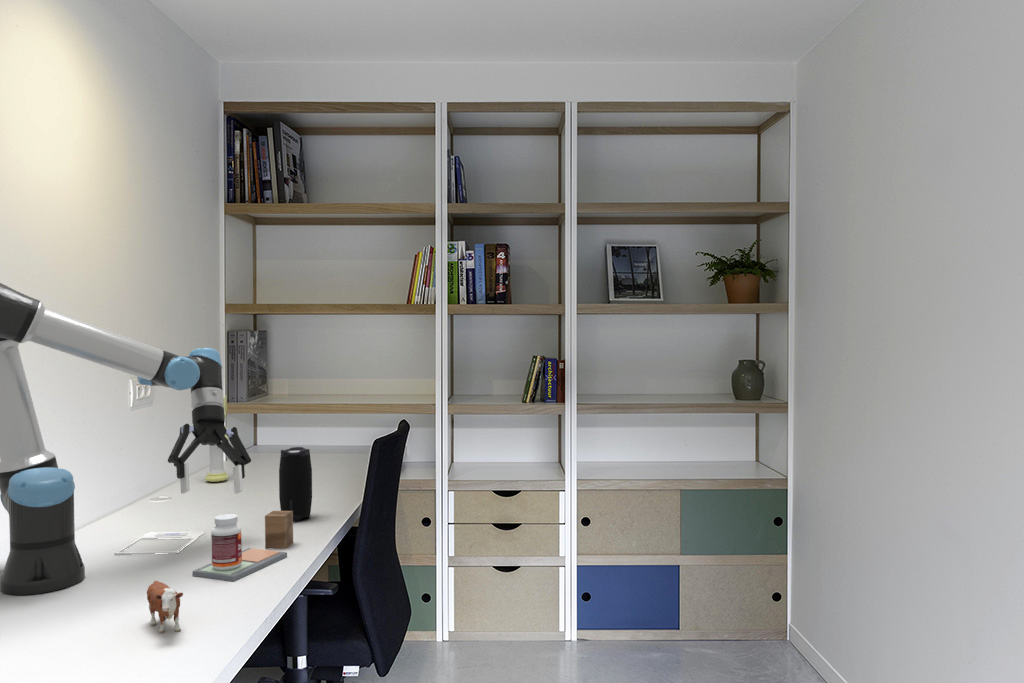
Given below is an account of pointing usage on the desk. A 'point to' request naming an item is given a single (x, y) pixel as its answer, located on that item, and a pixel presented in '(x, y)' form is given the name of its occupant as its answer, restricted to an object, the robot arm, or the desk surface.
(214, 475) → the trophy
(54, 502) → the robot arm
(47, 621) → the desk surface
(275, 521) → the walnut block
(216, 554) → the pill bottle
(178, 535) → the photo frame
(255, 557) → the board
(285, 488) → the portable speaker
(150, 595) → the bull figurine
